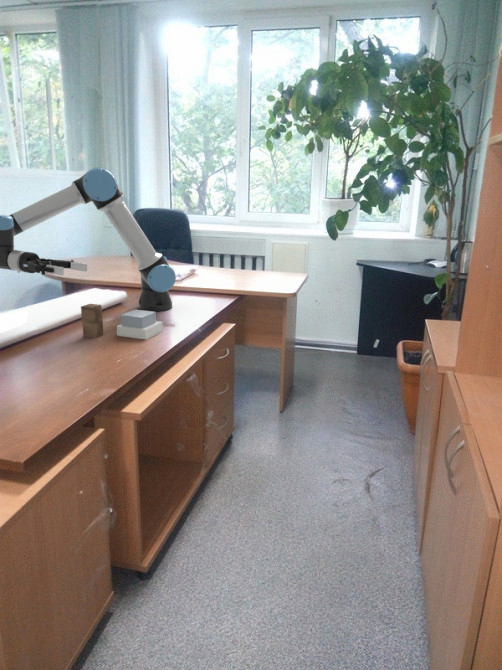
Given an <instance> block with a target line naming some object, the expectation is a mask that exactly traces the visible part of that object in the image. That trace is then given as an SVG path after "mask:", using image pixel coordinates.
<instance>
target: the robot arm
mask: <svg viewBox="0 0 502 670" xmlns="http://www.w3.org/2000/svg"><path fill="white" fill-rule="evenodd" d="M124 196H125V195H124V192H123V191H122V190H121V188H120V186H119V185H118V184H117V180H116V178H115V175H114V174H113V173H111V171H109V170H107V169H106V168H103V167H93V168H91V169H89V170H88V171H86V172H85V174H83V175H82V176H80V177H79V178H77V179H75V180H73V181H71V184H70V186H67V187H65V188H63V189H61V190H59V191H57V192H55V193H52V194H50V195H49V196H47V197H45V198H42V199H40V200H38V201H36V202H34V203H32V204H30V205H28V206H26V207H24V208H21V209H19V210H18V211H15V212H13V213H11V214H9V215H6V214H5V215H4V214H0V269H2V270H10V271H16V272H17V273H19V274H20V272H21V273H22V272H23V273H27V274H36V273H37V274H40V273H41V275H42V276H44V275H46V274H50V275H52V274H53V275H58V276H64V275H65V272H64V271H65V270H64V269H70V270H73V271H79V272H85V273H86V272H88V263H82V262H75V261H74V259H70V260H64V259H63V260H62V259H61V260H60V259H51V258H47V259H46V258H45V257H44V258H42V257H40V256H39V254H37V253H35V252H30V251H24V250H18V249H15V243H14V242H15V241H14V239H15V236H17V235H19V234H21V233H23V232H25V231H27V230H29V229H32V228H34V227H36V226H38V225H40V224H42V223H45V221H47V220H49V219H51V218H54V217H57V216H58V215H60V214H62V213H64V212H66V211H68V210H70V209H72V208H74V207H76V206H78V205H81V204H84V205H87V204H89V203H90V202H92V204H93V205H94V206H95V207H96V210H97V211H99V212H103V213H104V214H105V216H106V217H107V219H108V220H109V222H110V223H111V225H112V226H113V228H114V229H115V230H116V232H117V233H118V235H119V236H120V238H121V240H122V241H123V242H124V245H126V246H127V248H128V250H129V251H130V253H131V254H132V256H133V257H134V259H135V261H136V262H137V263H138V266H137V270H138V272H139V273H140V284H141V288H140V289H141V292H140V296H139V300H138V303H137V305H138V306H137V307H138V310H144V311H152V312H162V311H167V310H170V309H172V308H173V301H172V297H171V296H170V292H169V291H170V290H171V289H172V288H173V287H174V285H176V284H175V283H176V281H177V280H176V279H177V276H176V272H175V270H174V268H172V266H170V265H169V263H168V259H167V257H166V256H163V254H162V253H161V252H160V253H159V252H157V251H156V250H155V248H154V247H153V245H152V243H151V242H150V240H149V238H148V237H147V235H146V234H145V232H144V231H143V230H142V228H141V227H140V225H139V223H138V222H137V220H136V218H135V217H134V215H133V214H132V213H131V211H130V209H129V207H128V206H127V204H126V203H125V201H124Z"/></svg>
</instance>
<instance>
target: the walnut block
mask: <svg viewBox="0 0 502 670" xmlns="http://www.w3.org/2000/svg"><path fill="white" fill-rule="evenodd" d="M80 312H81V323H82V324H81V325H82V335H83V337H87V338H94V339H95V338H96V339H97V338H98V337H100V336H102V335H104V321H103V306H102V304H97V303H88V304H84V305H81V306H80Z"/></svg>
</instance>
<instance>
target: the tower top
mask: <svg viewBox="0 0 502 670" xmlns="http://www.w3.org/2000/svg"><path fill="white" fill-rule="evenodd" d="M156 321H157V311H145V310H141V309H133V310H130V311H127V312H125V313H122V314H120V322H121V324H120V325H122V326H129V327H136V328H145V327H147V326H149V325H151V324H154V323H156Z"/></svg>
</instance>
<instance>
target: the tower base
mask: <svg viewBox="0 0 502 670" xmlns="http://www.w3.org/2000/svg"><path fill="white" fill-rule="evenodd" d="M163 330H164V329H163V321H158V320H156V323H154V324H151V325H149V326H147V327H145V328H136V327H129V326H122V325H121V324H118V325H117V326H116V335H117V336H118V337H124V338H133V339H138V340H139V339H141V340H148V339H151V338H152V337H154V336H156V335H158V334H160V333H163Z"/></svg>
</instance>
